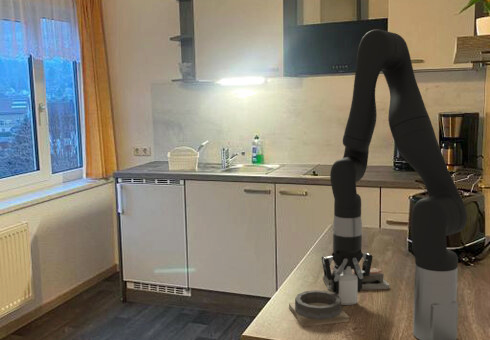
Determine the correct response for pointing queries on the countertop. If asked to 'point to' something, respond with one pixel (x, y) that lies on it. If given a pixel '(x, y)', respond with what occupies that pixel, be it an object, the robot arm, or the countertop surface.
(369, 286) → the packaged product
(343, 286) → the eye dropper bottle
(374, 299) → the countertop surface
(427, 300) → the robot arm
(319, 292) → the collar board
